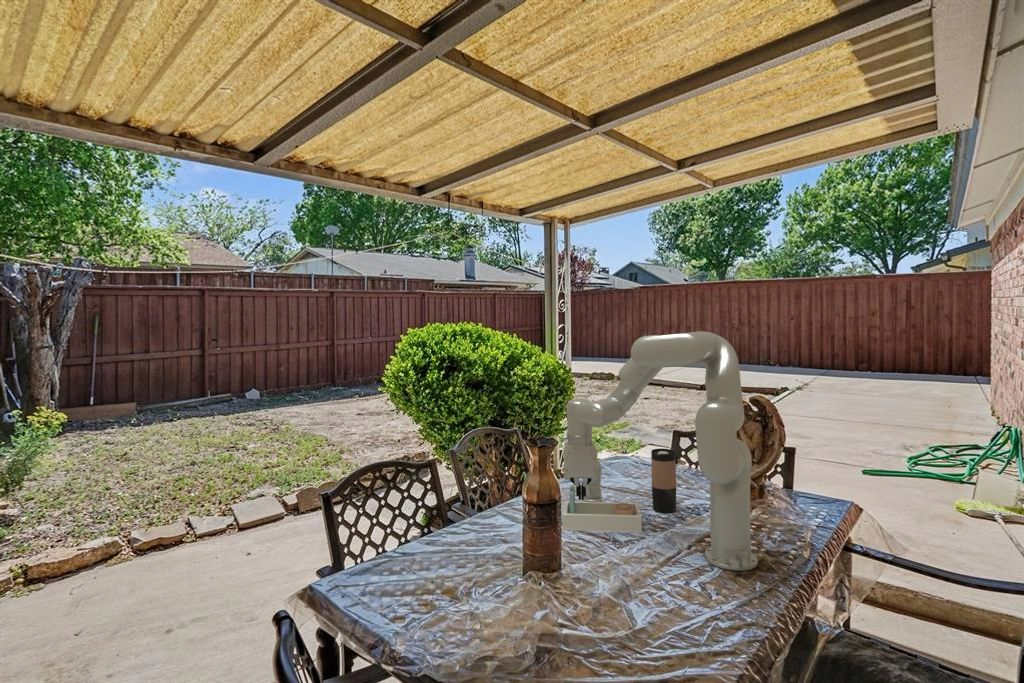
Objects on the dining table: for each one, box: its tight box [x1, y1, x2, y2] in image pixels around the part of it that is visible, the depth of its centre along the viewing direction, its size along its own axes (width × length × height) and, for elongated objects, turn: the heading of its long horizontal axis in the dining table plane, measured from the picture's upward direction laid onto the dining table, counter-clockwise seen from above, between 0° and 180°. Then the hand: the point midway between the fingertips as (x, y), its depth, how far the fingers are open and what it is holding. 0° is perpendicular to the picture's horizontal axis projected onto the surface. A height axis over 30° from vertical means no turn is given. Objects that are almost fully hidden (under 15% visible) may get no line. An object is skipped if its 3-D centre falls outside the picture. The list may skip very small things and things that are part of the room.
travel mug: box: [650, 448, 677, 515], centre depth 170 cm, size 8×8×20 cm
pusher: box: [569, 484, 576, 514], centre depth 162 cm, size 9×1×10 cm, turn 171°
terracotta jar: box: [614, 502, 634, 515], centre depth 160 cm, size 6×6×6 cm
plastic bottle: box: [582, 450, 604, 502], centre depth 173 cm, size 6×7×20 cm
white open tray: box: [562, 500, 643, 533], centre depth 161 cm, size 12×23×6 cm, turn 81°
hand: (581, 498), depth 161 cm, fingers closed
